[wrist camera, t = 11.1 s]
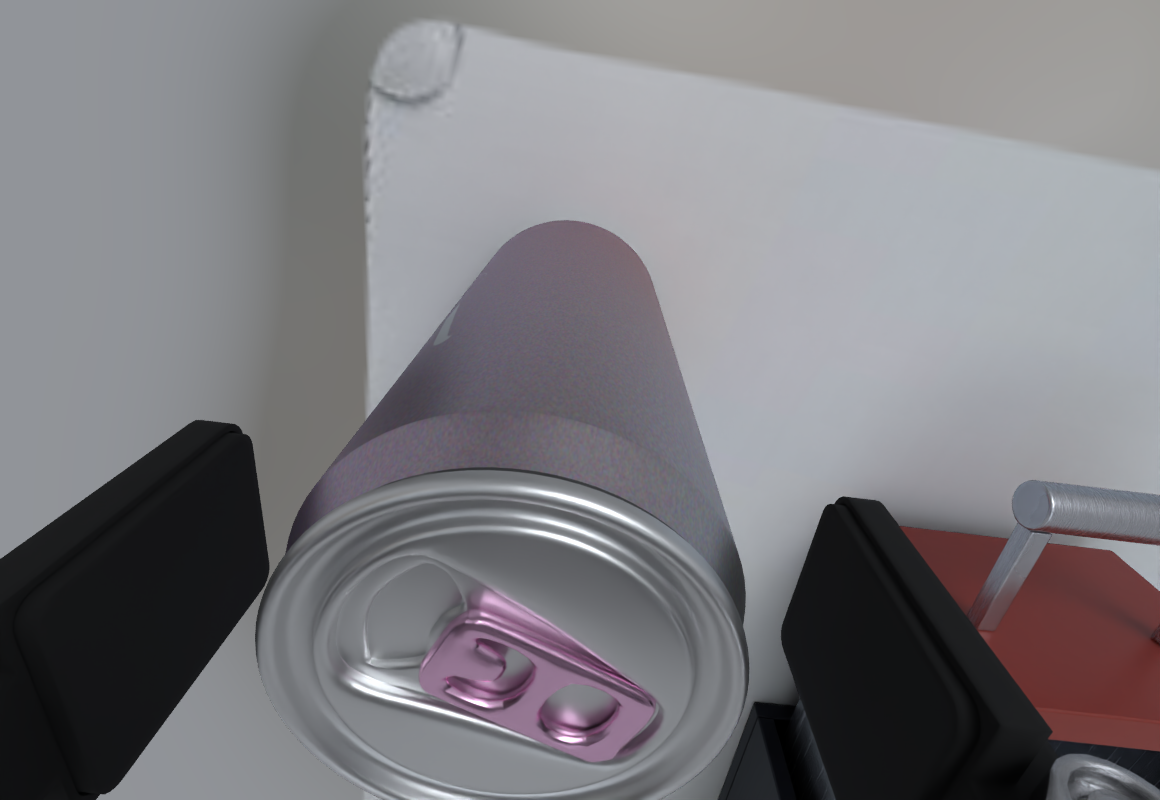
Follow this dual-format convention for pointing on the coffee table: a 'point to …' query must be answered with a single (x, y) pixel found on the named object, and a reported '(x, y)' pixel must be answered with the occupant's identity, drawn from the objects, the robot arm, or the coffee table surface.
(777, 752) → the black open box
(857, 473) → the coffee table surface
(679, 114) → the coffee table surface
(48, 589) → the robot arm
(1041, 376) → the coffee table surface
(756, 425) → the coffee table surface
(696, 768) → the beverage can
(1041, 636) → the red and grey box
